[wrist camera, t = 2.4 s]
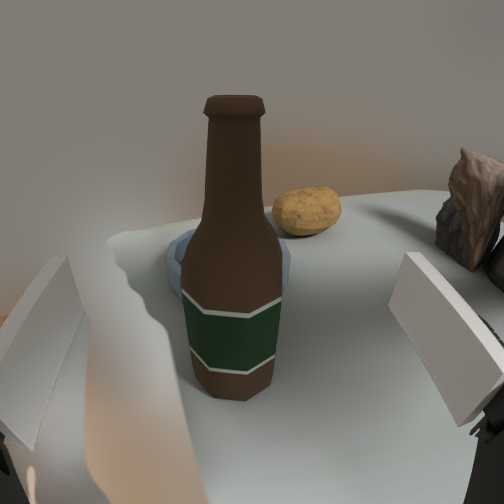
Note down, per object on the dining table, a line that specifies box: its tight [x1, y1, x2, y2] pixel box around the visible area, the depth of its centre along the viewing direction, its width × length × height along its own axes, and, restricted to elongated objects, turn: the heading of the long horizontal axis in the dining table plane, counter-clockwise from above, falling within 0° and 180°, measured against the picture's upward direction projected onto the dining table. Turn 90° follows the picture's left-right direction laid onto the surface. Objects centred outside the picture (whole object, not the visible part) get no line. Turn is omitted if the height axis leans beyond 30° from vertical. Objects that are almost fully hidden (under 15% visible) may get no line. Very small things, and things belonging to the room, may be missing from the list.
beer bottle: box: [181, 95, 283, 401], centre depth 22 cm, size 8×8×24 cm
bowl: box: [166, 229, 291, 302], centre depth 42 cm, size 16×16×4 cm
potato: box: [272, 186, 341, 235], centre depth 54 cm, size 10×14×8 cm
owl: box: [435, 148, 504, 272], centre depth 47 cm, size 13×13×20 cm
